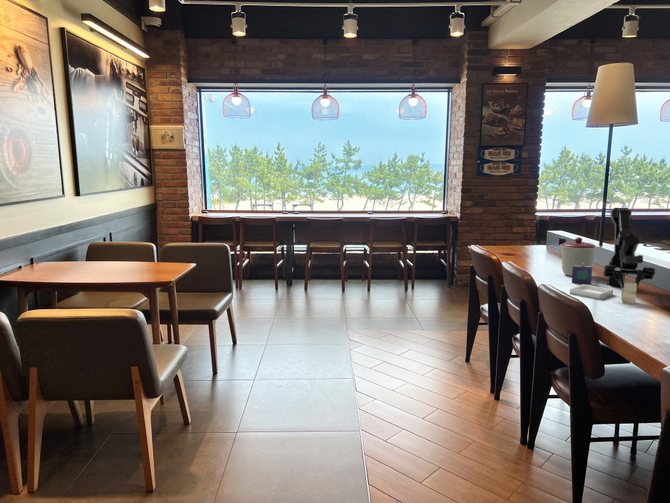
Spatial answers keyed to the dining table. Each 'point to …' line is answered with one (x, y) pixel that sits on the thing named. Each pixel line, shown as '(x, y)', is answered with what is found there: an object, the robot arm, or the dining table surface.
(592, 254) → the canister
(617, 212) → the robot arm
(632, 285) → the maple block
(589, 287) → the tray
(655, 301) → the dining table surface
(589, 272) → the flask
